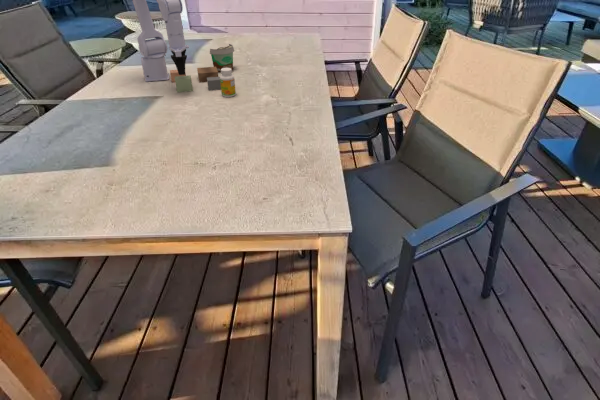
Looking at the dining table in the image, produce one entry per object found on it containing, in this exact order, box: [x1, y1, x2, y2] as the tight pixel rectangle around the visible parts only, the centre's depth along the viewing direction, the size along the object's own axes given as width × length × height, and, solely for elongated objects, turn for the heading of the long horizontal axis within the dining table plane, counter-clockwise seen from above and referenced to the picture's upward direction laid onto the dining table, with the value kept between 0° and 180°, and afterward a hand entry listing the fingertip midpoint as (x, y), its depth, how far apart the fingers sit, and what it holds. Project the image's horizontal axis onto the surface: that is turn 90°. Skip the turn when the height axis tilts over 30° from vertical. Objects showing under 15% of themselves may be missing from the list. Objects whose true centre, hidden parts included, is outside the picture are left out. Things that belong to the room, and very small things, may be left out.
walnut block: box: [196, 66, 219, 83], centre depth 160 cm, size 8×8×4 cm
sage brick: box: [174, 74, 194, 93], centre depth 148 cm, size 6×4×5 cm, turn 106°
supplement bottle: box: [219, 68, 237, 98], centre depth 142 cm, size 5×5×10 cm
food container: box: [209, 43, 235, 73], centre depth 168 cm, size 12×6×10 cm, turn 143°
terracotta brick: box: [169, 69, 187, 83], centre depth 158 cm, size 6×4×4 cm, turn 107°
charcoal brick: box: [206, 76, 221, 91], centre depth 150 cm, size 6×4×4 cm, turn 105°
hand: (181, 71), depth 145 cm, fingers open, 7 cm apart
